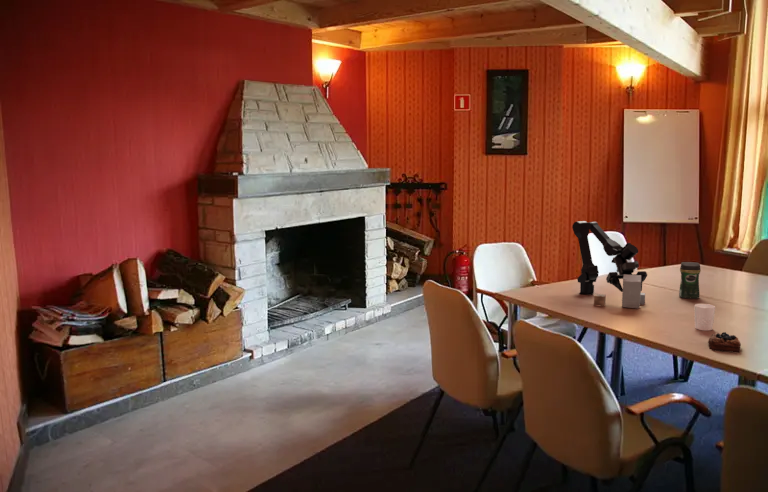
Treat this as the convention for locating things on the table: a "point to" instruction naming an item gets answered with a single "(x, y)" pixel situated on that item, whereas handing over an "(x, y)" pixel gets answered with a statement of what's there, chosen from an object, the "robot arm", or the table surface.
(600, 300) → the walnut block
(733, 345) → the pastry
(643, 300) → the slate-grey block
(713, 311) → the white cup
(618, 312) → the table surface
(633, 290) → the skincare box
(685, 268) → the coffee jar
